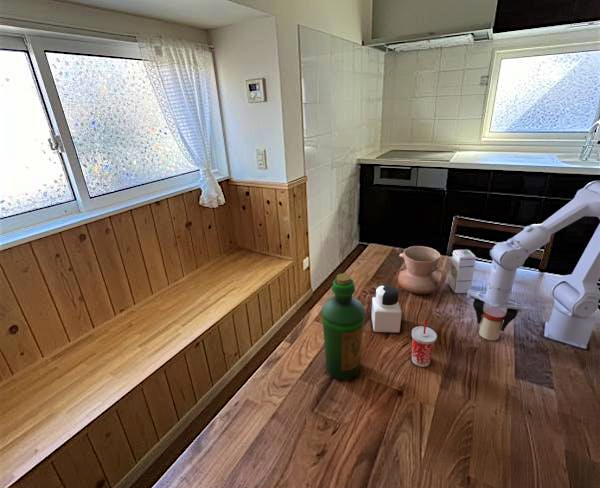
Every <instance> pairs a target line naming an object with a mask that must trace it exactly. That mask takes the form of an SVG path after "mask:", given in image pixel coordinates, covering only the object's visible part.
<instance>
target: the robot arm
mask: <svg viewBox="0 0 600 488" xmlns="http://www.w3.org/2000/svg"><path fill="white" fill-rule="evenodd" d="M583 217H595V218H596V217H597V218H598V219H599V220H600V180H593V181H591V182H589V183H587V184H586V185H585V186H584V187H583V188H580V189H578V190H577V191H576V194H575V195H574V197H573V199H571V200H570V201H569V202H568V203H566V204H565V205H564V206H562V207H561V208H560V209H558V210H557V211H556V212H554V213H553V214H552V215H551V216H548V218H546V219H545V220H543V222H542V223H537V224H536V223H533V224H530V225H527V226H525V227H524V228H523V230H521V231H520V232H518V233H517V234H515V235H514V236H512V237H511V238H508V239H507V240H506V241H500V242H498V243H496V244H495V245H494V246H493V247H492V248H491V249H490V250H489V256H490V257H491V259H492V261H491V268H490V272H489V277H488V281H487V286H486V291H483V290H482V291H481V290H473V289H471V290H469V291H468V293H466V294H467V295H466V299H469V300H472V299H473V302H472V307H473V309H474V311H475V314H476V319H477V320H476V323H477V324H478V325H480V324H481V320H482V309H483V307H484V306H485V304H487V305H490V306H491V307H494V308H501V309H506V311H505V313H506V315H505V319H504V320H503V323H502V327H501V331H500V332H504V331H505V330H506V328H507V326H508V325H509V324H510V323H511V322H512V321H513V320H514V319H516V318H517V317H518V316H517V315H518V312H519V313H520V314H522V315H527V311H528V308H529V305H528V304H525V303H523V302H520V301H518V300H515V299H513V298H511V293H512V289H513V285H514V282H515V278H516V274H517V270H518V269H519V268H521V267H523V266H524V264H525V262H526V260H527V259H529V256H530V255H531V254H532V253H534V252H536V251H538V250H540V248H542V247H544V246H545V245H547V244H548V243H550V242H551V237H552V235H553V234H555V233H557V232H558V231H560V230H562V229H563V228H565V227H568V226H569V225H571V224H573V223H574V222H576V221H578V220H580V219H582V218H583ZM599 280H600V223H599V224H598V226H597V228H595V231H594V233H593V235H592V237H591V238H590V240H589V242H588V243H587V245H586V247H585V249H584V251H583V253H582V255H581V257H580V258H579V260H578V262H577V264H576V266H575V267H574V269H573V271H572V273H571V274H565V275H562V276H561V278H560V280H559V281H558V282H556V283H555V284H554V285H553V286H552V288H551V290H550V291H551V296H552V297H553V298H554V299H553V302H554V305H553V307H552V310H551V314H550V317H549V321H545V323H544V334H543V336H544V338H547V339H550V340H554V341H557V342H559V343H564V344H566V345H570V346H572V347H573V346H574V347H577V348H579V349H584V350H587V349H588V344H589V341H590V338H591V336H592V333H593V331H594V328H595V325H596V314H594V313H596V311H597V309H598V308H599V301H600V289H599V286H598V282H599Z"/></svg>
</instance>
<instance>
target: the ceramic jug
mask: <svg viewBox="0 0 600 488" xmlns="http://www.w3.org/2000/svg"><path fill="white" fill-rule="evenodd" d="M399 258H402V259H403V261H404V263H405V267H406V268H405V269H404V270H400V271H399V273H398V276H397V282H398V284H399V286H400V287H401V288H402V289H403V290H405V291H407V292H408V293H411V294H416V295H429V294H433V293H435V292H437V291H438V290H439V289H440V288H441V286H442V285H443V284H444V283H445V282H446V279H447V271H446V270H445V268H443V267H441V266H438V264H439V262H440V258H441V253H440V252H439V251H437V249H434V248H432V247H430V246H429V247H428V246H425V245H413V246H409V247H407V248H404V250H403V252H402V253H400V254H399ZM435 272H440V273H441V278H440V277H439V276H438V275H437V274H436V273H435Z"/></svg>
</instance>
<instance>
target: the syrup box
mask: <svg viewBox="0 0 600 488" xmlns="http://www.w3.org/2000/svg"><path fill="white" fill-rule="evenodd" d="M476 259H477V256H476V255H475V254H474V253H473V252H472V250H470V249H455V250H454V249H453V251H452V258H451V264H450V271H449V279H448V287H449V288H450V289H451V290H452V292H453V293H454V294H468V291H469V290H472V286H473V285H472V283H473V279H474V272H475V266H476V261H477V260H476Z"/></svg>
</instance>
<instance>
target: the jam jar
mask: <svg viewBox="0 0 600 488" xmlns="http://www.w3.org/2000/svg"><path fill="white" fill-rule="evenodd" d="M503 321H504V320H503ZM503 321H500V322H495V321H491V320H488V319H486V318H485V317H484V316H483V315H482V318H481V322H480V324H479V328H478V329H479V330H478V334H479V336H480V337H482V338H483V339H485V340H487V341H497V340H499V339H500V335H501V332H502V331H501V328H502V324H503Z"/></svg>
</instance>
